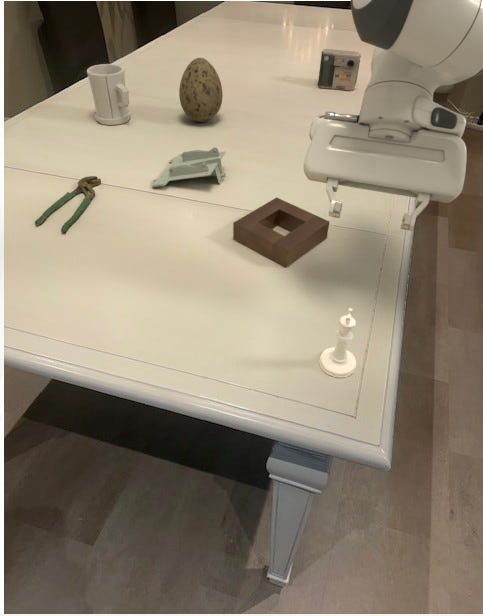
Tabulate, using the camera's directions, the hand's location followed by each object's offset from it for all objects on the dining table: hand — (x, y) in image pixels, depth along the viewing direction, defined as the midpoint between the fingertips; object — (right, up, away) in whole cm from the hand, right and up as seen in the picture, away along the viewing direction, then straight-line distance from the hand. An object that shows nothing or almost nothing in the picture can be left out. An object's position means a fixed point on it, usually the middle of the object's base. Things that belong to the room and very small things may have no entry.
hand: (369, 222), depth 63 cm
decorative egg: (-27, +37, +62) cm, 77 cm away
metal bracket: (-27, +17, +40) cm, 51 cm away
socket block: (-10, +1, +23) cm, 25 cm away
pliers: (-49, +9, +31) cm, 58 cm away
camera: (+12, +55, +83) cm, 100 cm away
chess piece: (-4, -19, +2) cm, 19 cm away
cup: (-49, +37, +61) cm, 87 cm away
